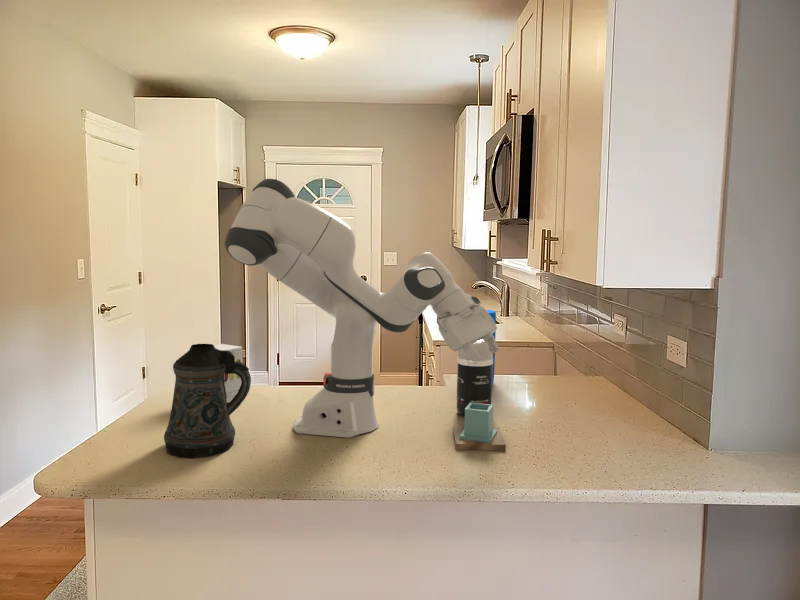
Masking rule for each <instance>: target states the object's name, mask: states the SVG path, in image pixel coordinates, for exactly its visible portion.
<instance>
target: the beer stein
mask: <svg viewBox="0 0 800 600" xmlns="http://www.w3.org/2000/svg"><path fill="white" fill-rule="evenodd" d="M214 346H215V344H211V343H196V344H192V345H191V346H190V348H189V349H188V350H187V352H185V353H184V354H183V355H181V356H180V357H179V358H177V359H176V361H174V363H173V365H172V370H173V374H174V375H175V382H174V388H173V396H172V397H173V399H172V403H171V404H172V405H171V411H170V415H169V416H170V417H169V420H168V422H167V423H168V424H167V427H166V430H165V432H164V434H163V440H164V444H165V449H166V454H168V455H169V456H173V457H175V458H180V459H181V458H182V459H199V458H210V457H213V456H217V455H221V454H223V453H225V452H228V451H229V450H231V448H232V447H233V446H234V442H235V441H234V440H235V438H236V437H235V435H236V429H235V427H234V425H233V423H232V420H231V416H230V415H231V414H233V413H234V412H235V411H236V410H237V409H238V408H239V407H240V406H241V404H242V403H243V402H244V401H245V399H246V397H247V396H248V394H249V392H250V389H251V383H252V378H251V377H252V376H251V373H250V370H249V369H250V368H249V367H248V366H247V365H245V364H244V363H241V362H239V361H238V362H235V356H234V355H233V354H232V353H231V351H228V350H218V349H216V348H215V347H214ZM224 373H225V374H237V375H238V376H239V377H240V378H241V381H242V382H241V386H240V389H239V391H238V393H237V394H236V395H235V397H234V398H233V399H232V400H231V402H229V403H227V400H226V398H227V397H226V389H225V383H224Z"/></svg>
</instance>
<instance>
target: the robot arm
mask: <svg viewBox="0 0 800 600" xmlns="http://www.w3.org/2000/svg"><path fill="white" fill-rule="evenodd" d="M355 238H356V237H355V234H354V232H353V230H352V228H351V227H350V226H349V225H348V224H347V223H346V222H345V221H344V220H343V219H340V218H339V217H338V216H336V215H334V214H332V213H331V212H329V211H327V210H325V209H324V208H322V207H320V206H319V205H316V204H314V203H312V202H310V201H307V200H304V199H301V198H298V197H296V195H295V193H294V192H293V190H292V188H291V187H289V185H287V184H286V183H285V182H283V181H281V180H279V179H275V178H266V179H265V178H264V179H263V180H262V181H260V182H259V183H258V184H257V185H256V186H255V187H253V189H252V192H251V193H250V194H249V196H248V197H246V199H245V201H244V202H243V203H242V205H241V207H240V208H239V211H238V213H237V215H236V217H235V219H234V221H233V223H232V225H231V227H230V228H229V229H228V231H227V233H226V236H225V239H224V247H225V250H226V252H227V253H228V255H230V257H231V258H232V259H234V260H235V261H236V262H238V263H241V264H242V265H245V266H250V267H251V266H257V265H258V266H259V267H260V268H261V269H263V270H264V271H265V272H267V273H268V274H269V275H271V276H272V277H273V278H274V279H276V280H278V281H279V282H280V283H282V284H284V285H285V286H287V287H289V288H290V289H292V290H293V291H294V292H296V293H297V294H299V295H301V296H302V297H304V298H305V299H306V300H308V301H309V302H311V303H313V304H314V305H316V306H317V307H319V308H320V309H321V310H323V311H324V312H326V313H327V314H328V315H329V314H330V316H332V317H334V318H335V328H334V333H333V334H334V335H333V339H332V342H331V344H330V372H329V371H328V372H325V373H324V375H323V380H322V381H323V382H322V383H323V384H322V385H323V388H322V389H321V390H320V391H318V392H317V393H316V394H314V395H313V396H311V397H310V398H308V400H307V401H306V403H305V404H304V407H303V410H302V415H300V416H298V418H296V420H295V421H294V422H293V431H294V432H295V433H297V434H303V435H313V436H314V435H315V436H327V437H337V438H347V439H348V438H353V437H356V436H358V435H360V434H366V433H369V432H373V431H374V430H376V429H377V428H378V427H379V422H378V419H377V415H376V414H377V413H376V410H375V401H374V395H375V384H376V382H375V374H374V373H373V357H374V356H373V355H374V354H373V353H374V352H373V351H374V350H373V349H374V339H375V334H376V331H377V325H378V324H379V326H381V327H382V328H383V329H384V330H386V331H389V332H393V333H404V332H406V331H407V330H408V329H410V327H411V326H412V325H413V323H414V322H415V321H416V319H417V318H418V317H419V316H420V315H421V314H422V313H423V312H424V311H426V309H427V308H428V306H431V309H432V311H433V312H434V313H435V315H436V325H438V331H439V333H440V335H441V337H442V338H443V340H444V342H445V343H446V345H447V347H448V348H449V349H450V350H452V351H453V352H456V351H457V352H458V350H459V349H461V348H462V349H463V351H464V352H465V353H466V354H468V355H469V356H471V357H472V359H473V360H474V361H475V362H478V361H480V360H481V359H482V358H483V356H482V355H481V353H480V352H477V351H476V350H475V349H474V348H473V347H472V346H473V345H472V343H475V342H477V341H479V340H481V339H484V340H485V342H487V343H488V345H489V347H490V348H489V350H490V351H491V352H492V353H495V354H496V353H497V352H498V351H499V350H500V347H499V346H498V344H497V341H496V337H495V338H494V336H493V334H492V333H494V332H495V331H497V330H498V329H497V328H498V327H497V323H496V324H495V322H494V320H493V319H492V317H491V316H490V314H489V313H488V312H487V310H488V309H487V310H486V308H485V307H484V306H483V305H482V304H483V303H482V300H481V299H480V297H478V296H474V295H472V294H471V295H470V294H468V293H465V291H464V290H463V288H462V287H461V286H459V285H458V284H457V283H456V281H455V279H454V277H453V274H452V273H451V272H450V271H449V270H448V268H447V267H446V265H445V264H443V262H442V261H441V260H440V259H439V258H438V257H437V256H436V255H435V254H434V253H431V252H428V251H427V252H421V253H419V254H416V255H415V256H413V257H412V258H411V259H410V260H409V261H408V262H407V264H406V269H405V270H404V272H403V274H401V276H399V278H398V279H396V281H395V282H394V284H393V285H392V286H391V287H390V288H389V289H388V290H387V292H380V291H378V290H377V289H376V288H375V287H374V286H372V285H371V284H370V283H369V282H367V281H366V280H364V279H363V278H362V277H361V276H360V275H359V274H358V273H357V272H356V270H355V268H354V267H355V266H354V259H355V253H356V247H357V246H356V245H357V244H356V239H355Z"/></svg>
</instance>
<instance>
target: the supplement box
mask: <svg viewBox="0 0 800 600" xmlns="http://www.w3.org/2000/svg"><path fill="white" fill-rule="evenodd" d="M214 347H215V348H216V349H218V350H228V351H231V353H232V354H233V355H234V356H235V362H238V361H239V362H241V363H243V362H244V361H243V346H241V345H240V346H239V345H232V344H225V343H219V344H214ZM243 364H244V363H243ZM241 382H242V381H241V378H240V377H239V376H238V375H237V374H225V373H224V383H225V389H226V397H227V398H226V400H227V403H229V402H231V400H232V399H233V398H234V397H235V395H236V394H237V393H238V391H239V389H240V386H241Z"/></svg>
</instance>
